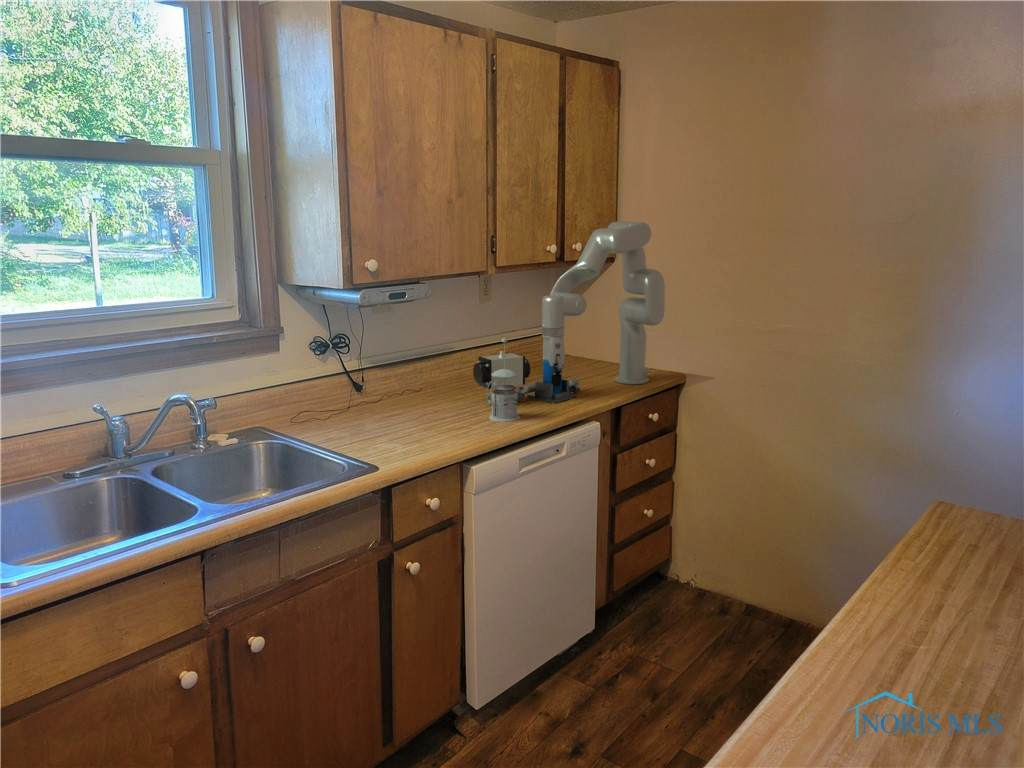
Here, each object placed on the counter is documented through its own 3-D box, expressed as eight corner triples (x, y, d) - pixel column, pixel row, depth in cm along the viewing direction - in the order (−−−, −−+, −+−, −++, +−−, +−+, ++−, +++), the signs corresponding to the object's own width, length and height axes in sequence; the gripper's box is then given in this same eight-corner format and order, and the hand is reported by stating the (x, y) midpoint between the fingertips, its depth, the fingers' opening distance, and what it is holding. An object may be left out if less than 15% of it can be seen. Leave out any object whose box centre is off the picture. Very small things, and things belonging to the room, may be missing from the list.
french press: (526, 417, 236) (527, 338, 230) (499, 424, 228) (499, 342, 222) (504, 411, 243) (505, 334, 237) (477, 418, 235) (477, 338, 229)
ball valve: (517, 397, 261) (518, 346, 257) (530, 403, 254) (531, 350, 250) (471, 404, 252) (470, 351, 248) (483, 409, 245) (482, 355, 241)
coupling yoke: (555, 387, 276) (555, 371, 275) (588, 394, 267) (588, 377, 265) (510, 399, 259) (510, 381, 258) (543, 406, 249) (543, 388, 248)
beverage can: (549, 389, 266) (549, 355, 263) (565, 391, 262) (565, 357, 259) (539, 393, 260) (539, 358, 258) (555, 395, 257) (555, 360, 254)
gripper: (572, 335, 249) (572, 388, 253) (554, 327, 266) (554, 378, 270) (551, 336, 247) (550, 390, 251) (534, 328, 263) (534, 379, 267)
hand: (552, 383), depth 260 cm, fingers closed on beverage can, 6 cm apart
